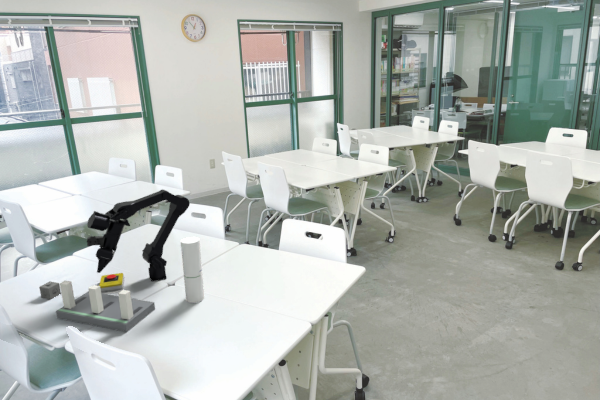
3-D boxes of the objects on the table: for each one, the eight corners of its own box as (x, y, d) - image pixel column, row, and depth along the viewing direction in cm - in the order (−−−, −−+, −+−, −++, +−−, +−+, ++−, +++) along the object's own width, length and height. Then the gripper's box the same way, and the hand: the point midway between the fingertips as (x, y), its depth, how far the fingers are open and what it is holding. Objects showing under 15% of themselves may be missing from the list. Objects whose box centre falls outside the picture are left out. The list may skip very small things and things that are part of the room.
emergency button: (123, 268, 193) (121, 283, 179) (124, 277, 194) (122, 292, 180) (100, 271, 190) (97, 286, 176) (102, 280, 191) (98, 296, 178)
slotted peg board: (89, 297, 175) (84, 268, 172) (155, 309, 166) (151, 278, 163) (57, 318, 161) (51, 286, 157) (127, 332, 152) (122, 298, 148)
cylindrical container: (207, 295, 176) (203, 237, 169) (198, 304, 169) (193, 244, 163) (192, 293, 178) (187, 235, 171) (182, 301, 172) (176, 242, 165)
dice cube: (41, 297, 176) (39, 286, 175) (51, 292, 181) (49, 281, 179) (50, 299, 175) (48, 288, 173) (61, 294, 179) (59, 283, 178)
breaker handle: (97, 308, 161) (93, 285, 158) (103, 310, 160) (100, 286, 157) (92, 312, 158) (88, 288, 156) (98, 313, 157) (95, 289, 155)
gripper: (95, 224, 182) (82, 259, 182) (89, 230, 165) (74, 269, 164) (122, 232, 186) (109, 266, 185) (119, 239, 168) (105, 277, 168)
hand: (99, 269), depth 175 cm, fingers open, 9 cm apart
